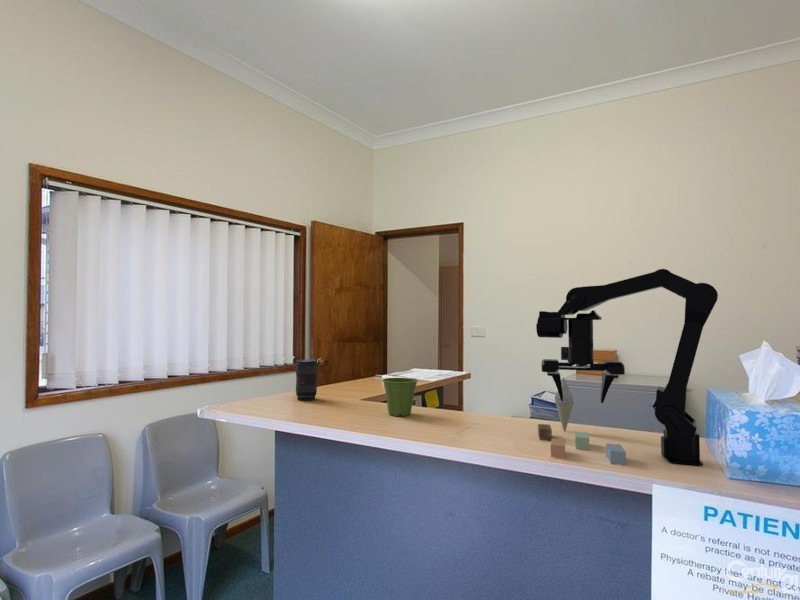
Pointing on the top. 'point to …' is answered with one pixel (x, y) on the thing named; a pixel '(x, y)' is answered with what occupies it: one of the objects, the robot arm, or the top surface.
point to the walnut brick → (544, 432)
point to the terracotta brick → (558, 448)
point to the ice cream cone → (564, 404)
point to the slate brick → (615, 454)
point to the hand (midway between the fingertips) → (581, 401)
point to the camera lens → (306, 379)
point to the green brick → (582, 440)
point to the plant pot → (399, 395)
